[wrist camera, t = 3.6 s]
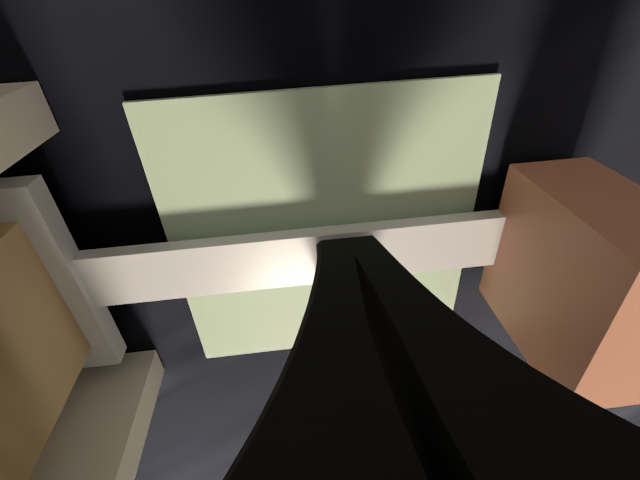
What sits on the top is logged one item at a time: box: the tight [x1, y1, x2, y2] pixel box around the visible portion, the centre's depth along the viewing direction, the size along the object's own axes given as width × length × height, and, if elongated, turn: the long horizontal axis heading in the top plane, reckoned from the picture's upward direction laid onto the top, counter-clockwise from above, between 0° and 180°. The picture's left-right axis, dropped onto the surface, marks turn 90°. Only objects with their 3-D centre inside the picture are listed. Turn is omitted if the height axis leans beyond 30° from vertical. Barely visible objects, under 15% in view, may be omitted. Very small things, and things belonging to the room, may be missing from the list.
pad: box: [122, 73, 501, 358], centre depth 10 cm, size 8×8×1 cm
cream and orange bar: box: [0, 157, 640, 409], centre depth 8 cm, size 18×6×4 cm, turn 93°
